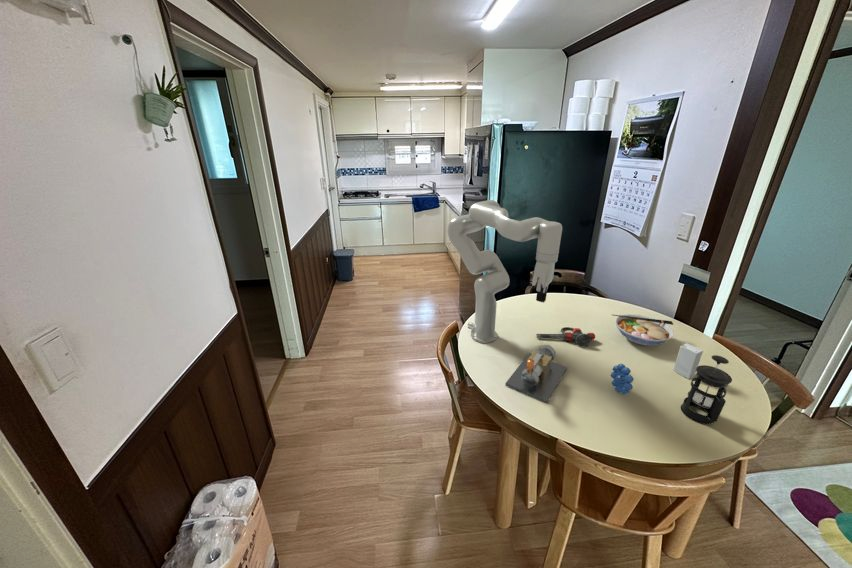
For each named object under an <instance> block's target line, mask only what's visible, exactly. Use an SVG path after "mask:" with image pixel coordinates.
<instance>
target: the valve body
mask: <svg viewBox="0 0 852 568" xmlns="http://www.w3.org/2000/svg"><path fill="white" fill-rule="evenodd" d="M538 350H543V351H544V352H545V353H544V357H543V358H541V359H540V360H539V362H538V363H537V365H536V366H535V368H534V369H533V372H532V373H528V372H526V367H527V360H528V359H534V357H535V356H536V354H537V350H533V351H532V353H531V352H529V353H528V354H527V355H526V356H525V358H523V360H522V362H521V363H520V364H519V365H518V367H516V369H515V370H514V371H513V373H512V374H511V375H510V376H509V378H508V379H507V381H506V382H505V384H504V385H505V386H506V387H508V388H510V389H512V390H515V391H516V392H519V393H522V394H524V395H527V396H529V397H530V398H534V399H535V400H538V401H540V402H542V403H544V404H548V403H549V400H550V399H551V397H552V395H553V394H554V392H555V390H556V389H557V386H558V385H559V383H560V381H561V380H562V378H563V376H564V374H565V372H566V371H567V369H568V366H567V365H565V364H562V363H559V362H556V361H553V360H554V359H555V358H556V356H557V354H556V350H555V349H554V347H552V346H550V345H548V344H543V345H541V346H540V347H539V349H538Z"/></svg>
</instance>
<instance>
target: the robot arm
mask: <svg viewBox="0 0 852 568" xmlns="http://www.w3.org/2000/svg"><path fill="white" fill-rule="evenodd" d="M486 227H489V228H493V229H495V230H496V231H497V232H498V234H499V235H500V236H502V237H504V238H506V239H508V240H512V241H514V242H520V243H524V242H528V241H530V240H533V239H537V246H536V253H535V255H536V256H535V260H536V263H535V265H534V271H533V276H532V283H531V285H532V286H534V287H535V286H536V289H535V291H536V298H535V300H536V301H537V302H541V303H545V302H546V300H547V294H548V288H549V285H550V283H552V281H553V279H554V275H555V274H554V273H555V265H556V263H557V262H558V258H559V253H560V246H561V239H562V233H563V225H562V223H560V222H557V221H553V220H552V221H551V220H547V219H544V218H541V217H539V216H538V217H537V216H535V217H531V218H530V217H529V218H526V219H522V220H518V219H517V220H516V219H512V218H509V211H508V210H507V209H506V208H504V207H501V205H500V204H499V203H498V202H497V201H496V200H491V199H487V200H482V201H478V202H475V203H473V204H472V205H471V206H470V207H469V209H468V214H464V215H459V216H456V217H454V218H453V219H451V220H450V221H449V223H448V224H447V237H448V239H449V241H450V243H451V244H452V245H453V246H454V248H455V249H456V251H457V252H458V254H459V256H460V258H461V260H462V262H463V264H464V266H465V267H466V269H467V271H468V272H469V273H470V274H472V275H475V276H476V275H480V274H483V273H485V272H487V273H486V274H483V275H481V276H478V278H476V280H475V281H474V287H473V288H474V295H475V305H474V306H475V311H474V312H475V313H474V323H473V322H470V321H469V322H468V323H467V329H470V330H471V333H470V337H471V339H472V340H474V341H476V342H477V343H481V344H489V343H490V344H491V343H493V342H495V341H497V339H498V333H497V331H496V318H497V317H496V316H497V304H498V303H497V299H496V298H495V294H497V293H499V292H501V291H503V290H505V289H507V288H508V287H509V286H510V282H511V281H510V275H509V274H508V272H507V270H506V268H505V267H504V265H503V263H502V261H501V260H500V258H499V256H498V255H497V254H496V253H495V252H494V251H493V250H491V249H484V250H481V251H480V249H478V247H477V245H476V243H475V242H474V240H473V239H471V238H470V237H469V236H468V235H467V234H472V233H476V232H478V231H482V230H483V229H484V228H486Z"/></svg>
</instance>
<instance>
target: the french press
mask: <svg viewBox="0 0 852 568" xmlns="http://www.w3.org/2000/svg"><path fill="white" fill-rule="evenodd" d="M711 359H712V360H713V361H715V362H716V367H715V366H712V365H704V364H703V365H698V367H697V368H696V373H695V376H696V377H695V376H694V377H692V378H691V382H690V386H691V388H690V390H689V391H688V393H687V397H685V398H684V399H683V402H682V404H681V405H680V411H681V413H683V415H684V416H686V418H688V419H689V420H691V421H693V422H696V423H699V424H701V425H712V424H713V423H715V422H717V421H718V419H719V418H720V415H721V413H722V411H723V409H724V407H725V404H726V402H727V401H726V399H725V398H726V395H727V387H728V386H729V385H730V384H731V383H732V382H733V378H732V377H731V376H730V375H729V373H728V372H725V371H724V370H722V369H720V368H719V365H721V364H724V365H725V364H726V365H727V364H729V363H730V362H729V360H728V359H727V358H726V357H724V356H721V355H718V354H717V355H715V354H714V355H711ZM701 382H702V384H705V385H707V387H706V390H705V391H703V390H702V389H700V388H699V387H700V385H701ZM710 387H713V388H716V389H717V388H718V389H717V392H716V394H711V393H709V392H708V391H709V389H710ZM690 406H691V407H692V406H693V407H696V408H697V407H698V408H699V409H701V410H703V411H705V412H706V413H707V414H706V415H705V414H702V413H698V412H696V411H694V410H693V409H691V408H690Z"/></svg>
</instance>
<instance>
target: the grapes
mask: <svg viewBox="0 0 852 568" xmlns="http://www.w3.org/2000/svg"><path fill="white" fill-rule="evenodd" d="M631 372H632V371H631V369H630V368H629V367H627V366H626V365H625V364H623V363H618V364H617V365H614V366H613V367H612V372H611V373H610V377H611V378H612V379H613V380H612V381H611V383H610V384H611V385H612V386H613V387H614V390H615V392H616V393H619V394H622V395H628V394H629V392H630V391H631V390H632V389H634V386H633V384H632V383H633V381H634V377H633V375H631Z"/></svg>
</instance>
